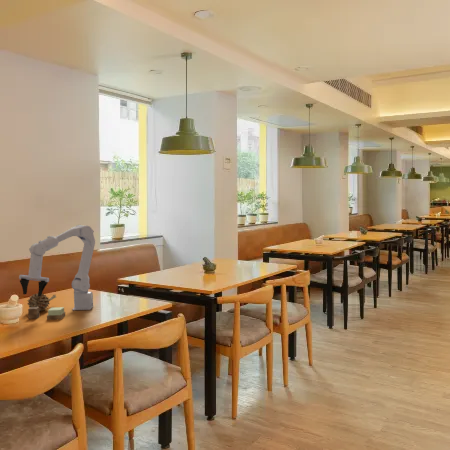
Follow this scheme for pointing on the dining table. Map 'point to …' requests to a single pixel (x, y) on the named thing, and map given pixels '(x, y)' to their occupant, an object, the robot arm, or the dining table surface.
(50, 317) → the slab bottom
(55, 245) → the robot arm
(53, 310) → the slab top
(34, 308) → the walnut block
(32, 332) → the dining table surface
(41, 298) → the pine cone
